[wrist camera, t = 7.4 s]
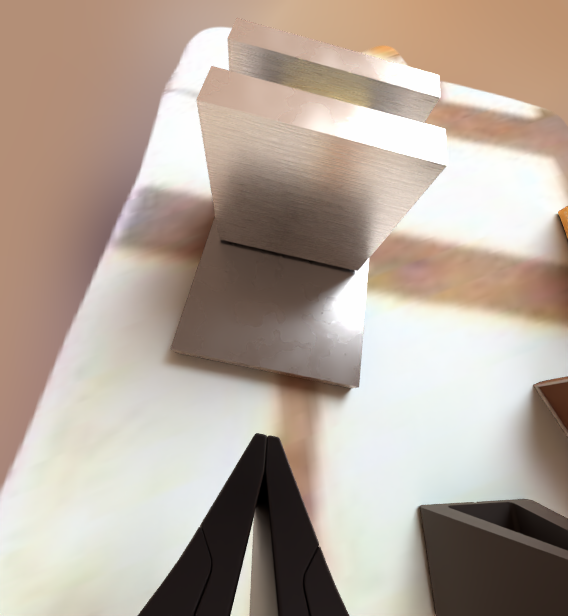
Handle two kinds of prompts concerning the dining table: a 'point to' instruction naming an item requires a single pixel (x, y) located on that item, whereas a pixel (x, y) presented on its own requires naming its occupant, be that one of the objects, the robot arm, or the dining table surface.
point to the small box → (564, 218)
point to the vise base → (284, 268)
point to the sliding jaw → (310, 168)
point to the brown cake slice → (556, 399)
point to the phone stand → (497, 558)
